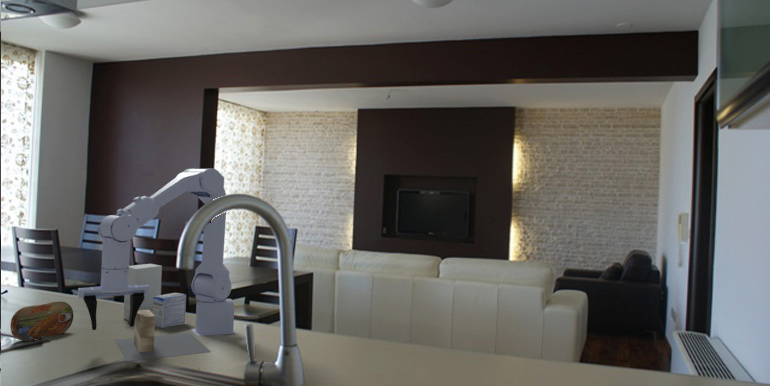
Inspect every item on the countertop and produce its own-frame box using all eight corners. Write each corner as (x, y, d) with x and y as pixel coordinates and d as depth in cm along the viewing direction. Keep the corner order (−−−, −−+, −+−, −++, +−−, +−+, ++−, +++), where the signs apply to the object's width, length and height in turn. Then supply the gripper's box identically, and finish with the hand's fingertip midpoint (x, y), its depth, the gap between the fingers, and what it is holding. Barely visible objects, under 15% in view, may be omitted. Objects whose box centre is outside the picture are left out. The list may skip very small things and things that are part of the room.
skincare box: (148, 315, 168) (151, 263, 168) (161, 318, 164) (163, 265, 164) (121, 319, 161) (124, 265, 161) (134, 323, 157) (137, 267, 158)
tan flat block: (147, 342, 135) (148, 309, 136) (153, 350, 129) (155, 316, 129) (133, 343, 134) (135, 310, 134) (139, 352, 127) (141, 317, 127)
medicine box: (173, 322, 160) (175, 292, 160) (185, 324, 158) (186, 294, 158) (151, 328, 153) (152, 296, 153) (163, 330, 151) (164, 298, 151)
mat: (190, 334, 147) (190, 332, 147) (211, 354, 130) (211, 351, 130) (114, 342, 137) (114, 339, 137) (126, 364, 120) (126, 361, 120)
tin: (15, 344, 132) (17, 309, 132) (7, 343, 133) (8, 307, 133) (73, 331, 145) (75, 299, 146) (65, 330, 147) (66, 298, 147)
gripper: (146, 264, 135) (144, 321, 135) (78, 266, 127) (75, 326, 127) (151, 268, 129) (149, 327, 129) (80, 270, 121) (77, 333, 121)
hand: (112, 327), depth 128 cm, fingers open, 7 cm apart
